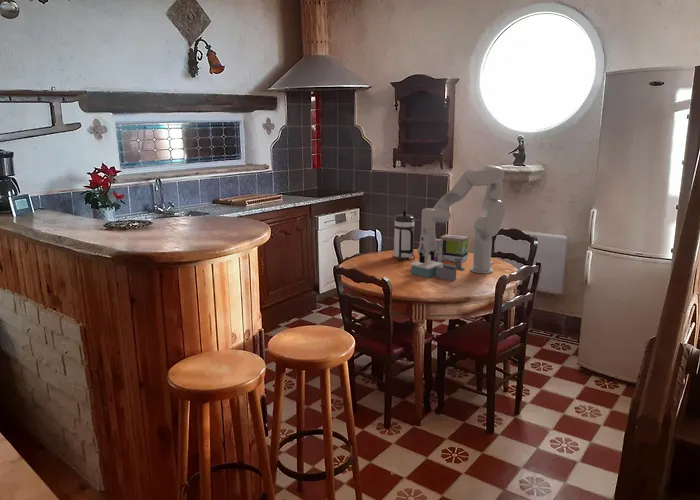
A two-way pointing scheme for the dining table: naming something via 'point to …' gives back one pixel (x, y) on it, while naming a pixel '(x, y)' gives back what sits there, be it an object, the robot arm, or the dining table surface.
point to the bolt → (458, 265)
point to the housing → (435, 272)
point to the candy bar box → (437, 251)
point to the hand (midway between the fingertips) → (426, 261)
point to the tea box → (454, 247)
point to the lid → (426, 263)
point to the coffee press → (404, 236)
